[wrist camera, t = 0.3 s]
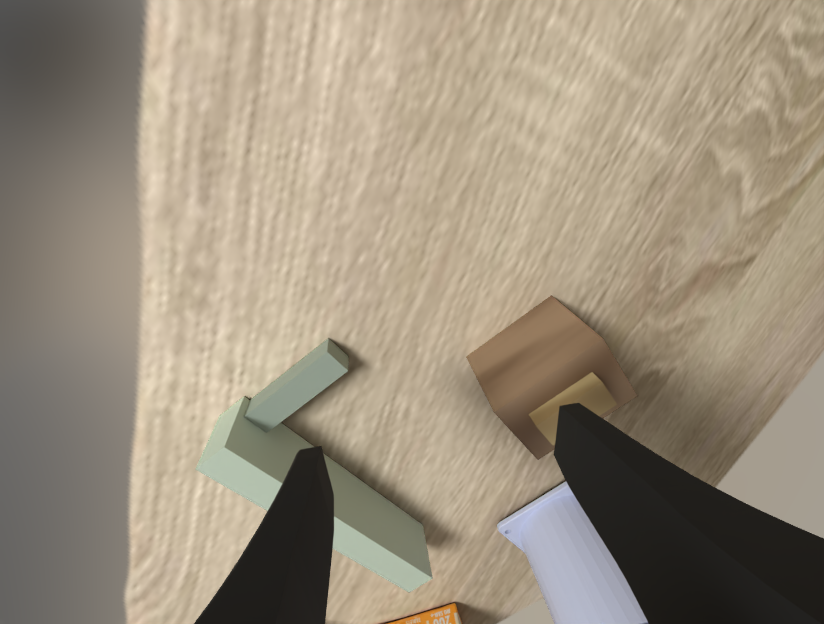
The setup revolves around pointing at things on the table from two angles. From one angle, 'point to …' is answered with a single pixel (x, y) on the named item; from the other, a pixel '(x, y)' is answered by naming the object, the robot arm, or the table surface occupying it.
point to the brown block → (548, 373)
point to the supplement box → (434, 616)
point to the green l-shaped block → (353, 499)
